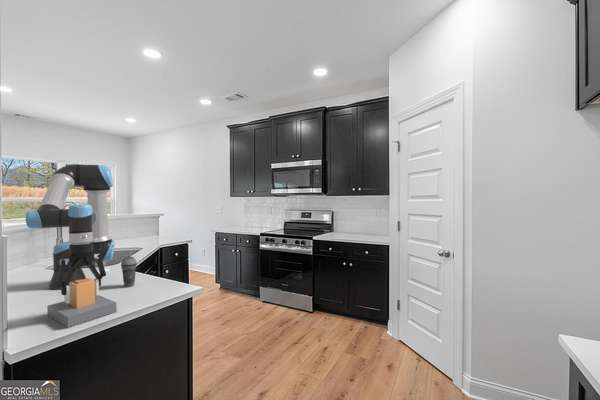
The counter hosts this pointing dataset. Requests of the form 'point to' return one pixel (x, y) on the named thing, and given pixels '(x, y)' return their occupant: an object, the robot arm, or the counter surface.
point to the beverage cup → (129, 270)
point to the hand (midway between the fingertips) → (82, 298)
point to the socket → (81, 311)
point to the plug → (82, 292)
